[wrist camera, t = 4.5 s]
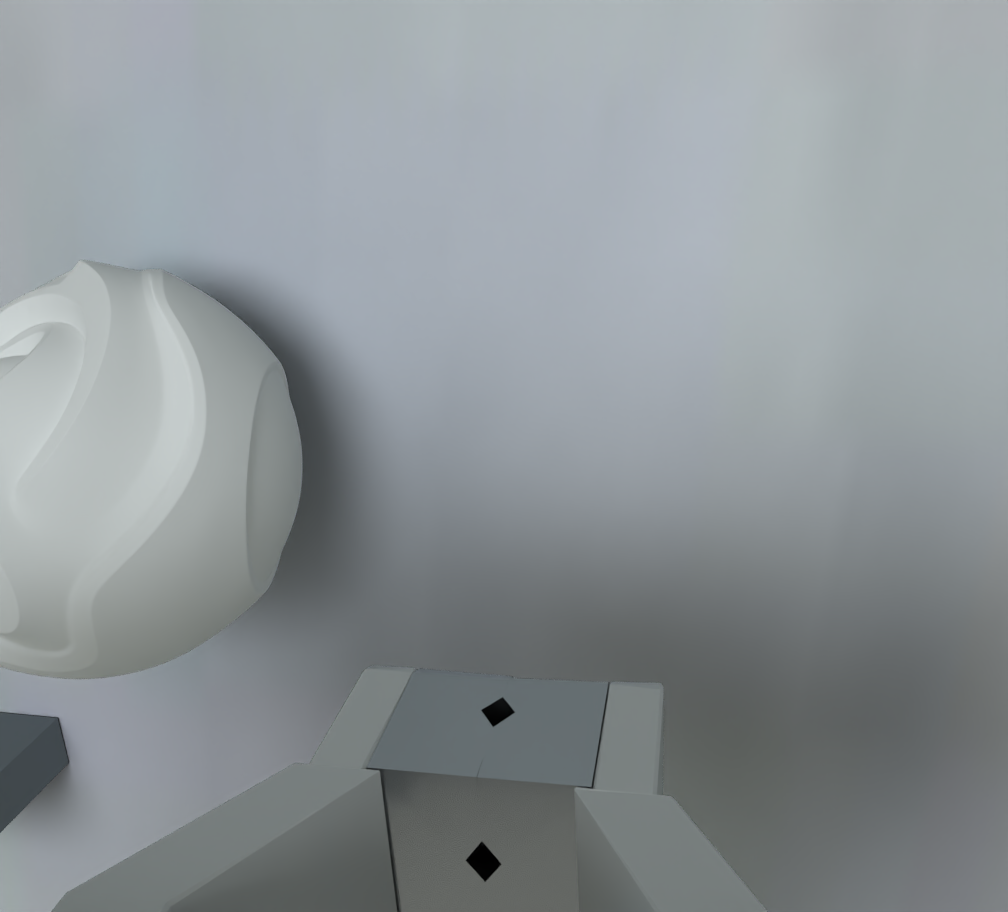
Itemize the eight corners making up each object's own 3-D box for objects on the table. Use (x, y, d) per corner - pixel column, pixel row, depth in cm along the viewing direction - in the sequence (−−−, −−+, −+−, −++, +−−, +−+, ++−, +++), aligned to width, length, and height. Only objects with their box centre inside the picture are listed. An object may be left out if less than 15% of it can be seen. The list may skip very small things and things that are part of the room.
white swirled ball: (260, 183, 20) (7, 230, 13) (424, 495, 22) (282, 688, 14) (-7, 333, 22) (-340, 440, 15) (158, 600, 24) (-72, 807, 17)
